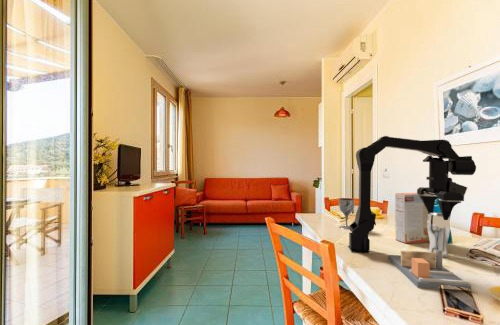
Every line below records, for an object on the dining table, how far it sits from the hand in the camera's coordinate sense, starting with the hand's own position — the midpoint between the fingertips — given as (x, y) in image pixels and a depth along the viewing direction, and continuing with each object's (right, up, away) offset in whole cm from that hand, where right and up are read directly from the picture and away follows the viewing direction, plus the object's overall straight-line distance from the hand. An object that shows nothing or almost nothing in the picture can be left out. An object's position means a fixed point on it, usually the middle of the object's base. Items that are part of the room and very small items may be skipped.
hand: (438, 217), depth 94 cm
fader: (-20, -12, -20) cm, 31 cm away
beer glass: (+1, -14, +2) cm, 14 cm away
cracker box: (+3, -15, +18) cm, 24 cm away
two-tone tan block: (-17, -12, -14) cm, 25 cm away
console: (-15, -14, -15) cm, 25 cm away
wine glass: (-18, -14, +41) cm, 47 cm away
